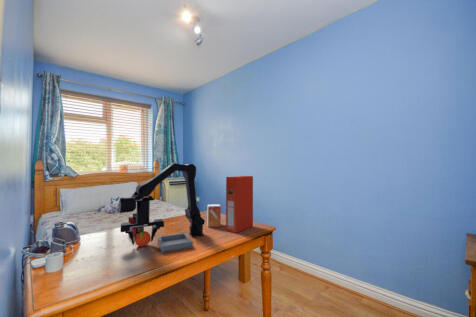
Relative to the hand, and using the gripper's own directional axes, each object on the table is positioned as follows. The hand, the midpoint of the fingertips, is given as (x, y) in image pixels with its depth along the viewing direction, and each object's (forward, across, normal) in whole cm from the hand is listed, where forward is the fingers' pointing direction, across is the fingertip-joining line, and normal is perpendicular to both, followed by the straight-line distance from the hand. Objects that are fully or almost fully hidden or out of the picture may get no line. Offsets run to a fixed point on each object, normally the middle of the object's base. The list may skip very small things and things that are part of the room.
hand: (142, 243), depth 102 cm
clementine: (+2, 0, 0) cm, 2 cm away
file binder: (+2, -55, -4) cm, 55 cm away
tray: (+2, -14, +5) cm, 15 cm away
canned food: (+2, +2, -19) cm, 19 cm away
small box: (+2, -43, -17) cm, 46 cm away
